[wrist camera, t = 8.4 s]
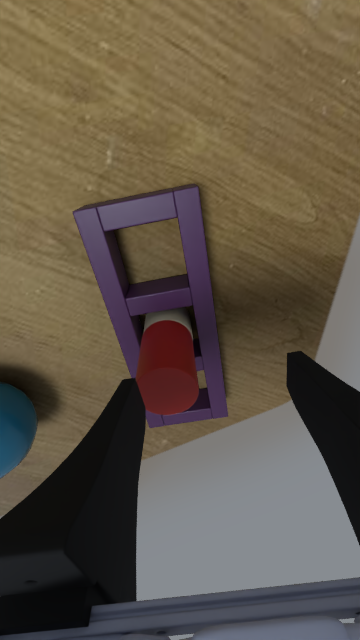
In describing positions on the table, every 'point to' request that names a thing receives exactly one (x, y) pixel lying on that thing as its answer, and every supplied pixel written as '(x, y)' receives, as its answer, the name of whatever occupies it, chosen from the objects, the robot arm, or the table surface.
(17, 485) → the table surface
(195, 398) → the cylinder
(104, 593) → the robot arm
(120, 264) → the board
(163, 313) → the cream token
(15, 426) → the ball
